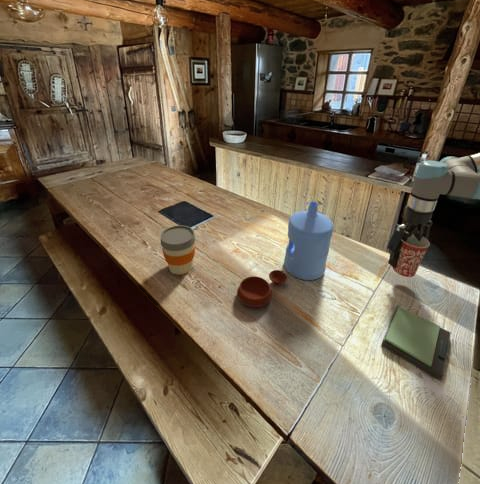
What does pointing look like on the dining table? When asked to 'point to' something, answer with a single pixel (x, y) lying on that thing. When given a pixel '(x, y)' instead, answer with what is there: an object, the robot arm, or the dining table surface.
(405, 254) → the mug
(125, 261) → the dining table surface
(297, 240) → the water jug
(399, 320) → the scale
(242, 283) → the pottery
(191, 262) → the reusable coffee cup
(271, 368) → the dining table surface
